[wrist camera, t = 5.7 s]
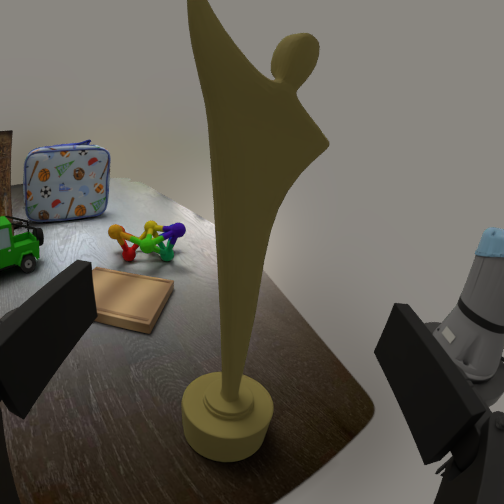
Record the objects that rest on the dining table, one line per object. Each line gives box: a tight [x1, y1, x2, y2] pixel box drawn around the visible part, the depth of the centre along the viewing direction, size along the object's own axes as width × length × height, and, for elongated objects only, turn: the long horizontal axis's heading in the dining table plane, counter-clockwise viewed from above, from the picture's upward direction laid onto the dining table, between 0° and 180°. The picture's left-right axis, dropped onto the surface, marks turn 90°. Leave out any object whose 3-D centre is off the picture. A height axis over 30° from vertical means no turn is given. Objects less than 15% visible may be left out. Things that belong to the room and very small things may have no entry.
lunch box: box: [23, 140, 110, 222], centre depth 64 cm, size 28×10×22 cm, turn 131°
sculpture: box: [181, 0, 329, 462], centre depth 16 cm, size 11×7×30 cm, turn 129°
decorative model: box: [108, 221, 186, 261], centre depth 51 cm, size 13×9×15 cm
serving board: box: [92, 267, 174, 334], centre depth 37 cm, size 14×12×2 cm
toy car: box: [0, 216, 44, 273], centre depth 35 cm, size 8×17×10 cm, turn 150°
